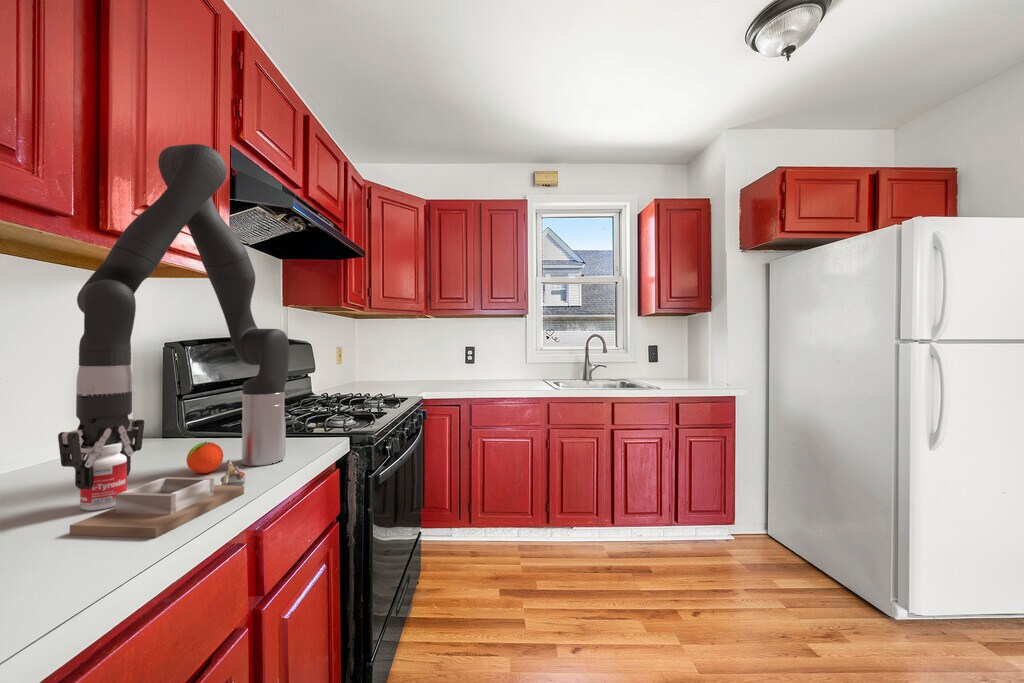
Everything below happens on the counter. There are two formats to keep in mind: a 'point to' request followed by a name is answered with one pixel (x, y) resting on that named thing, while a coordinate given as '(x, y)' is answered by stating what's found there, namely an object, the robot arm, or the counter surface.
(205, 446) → the clementine
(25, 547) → the counter surface
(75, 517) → the counter surface
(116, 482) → the pill bottle
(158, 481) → the bottle holder
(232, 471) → the figurine
